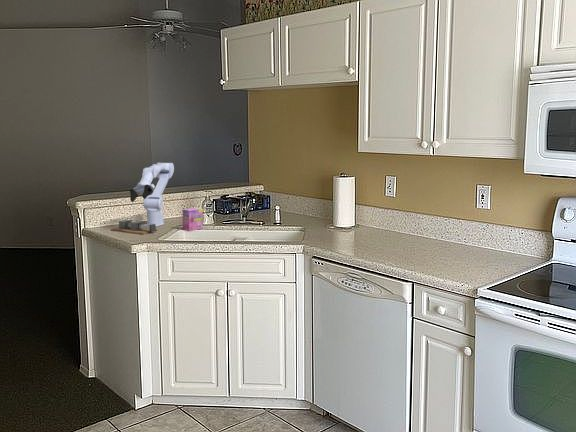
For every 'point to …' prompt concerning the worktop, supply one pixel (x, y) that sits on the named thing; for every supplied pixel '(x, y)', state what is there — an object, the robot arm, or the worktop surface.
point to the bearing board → (144, 231)
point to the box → (192, 219)
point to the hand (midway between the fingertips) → (137, 199)
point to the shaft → (145, 226)
